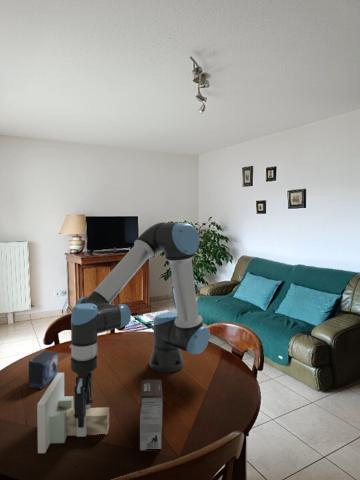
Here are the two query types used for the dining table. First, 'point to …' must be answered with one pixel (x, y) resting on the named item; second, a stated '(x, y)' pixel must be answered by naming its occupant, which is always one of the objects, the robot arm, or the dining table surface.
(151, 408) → the coffee box
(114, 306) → the robot arm
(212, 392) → the dining table surface
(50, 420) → the base plate with tabs
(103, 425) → the rail
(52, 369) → the small box
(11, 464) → the dining table surface
